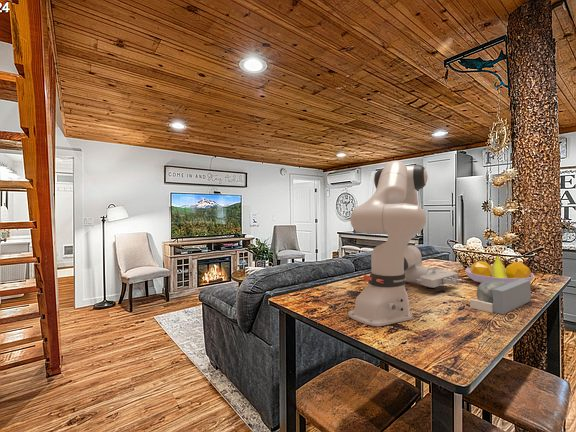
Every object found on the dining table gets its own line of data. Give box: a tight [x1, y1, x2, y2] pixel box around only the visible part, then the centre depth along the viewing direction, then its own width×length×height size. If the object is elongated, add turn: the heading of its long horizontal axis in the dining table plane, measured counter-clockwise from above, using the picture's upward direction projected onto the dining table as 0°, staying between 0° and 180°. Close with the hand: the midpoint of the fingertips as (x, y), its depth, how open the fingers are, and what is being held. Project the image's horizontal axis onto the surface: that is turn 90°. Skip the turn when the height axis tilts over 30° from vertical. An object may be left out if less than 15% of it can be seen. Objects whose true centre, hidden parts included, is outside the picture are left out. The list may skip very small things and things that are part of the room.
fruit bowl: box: [464, 255, 536, 284], centre depth 137 cm, size 28×27×11 cm
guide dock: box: [469, 279, 532, 315], centre depth 109 cm, size 26×10×8 cm, turn 123°
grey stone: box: [476, 280, 506, 304], centre depth 111 cm, size 14×10×10 cm
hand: (457, 282), depth 123 cm, fingers closed
